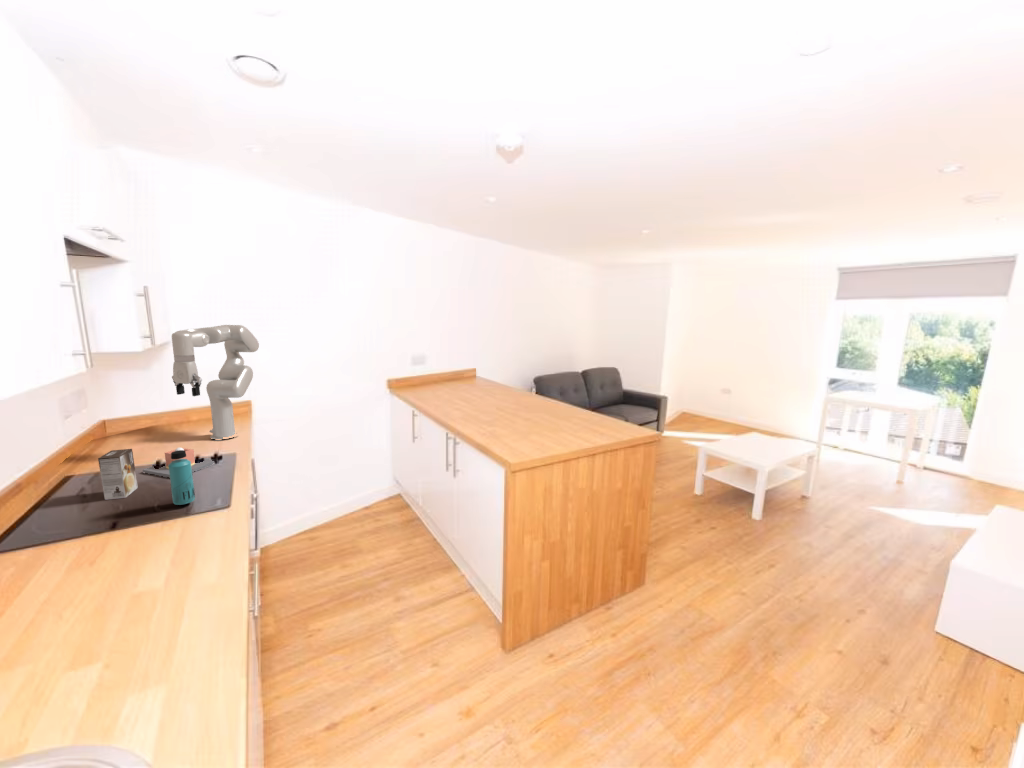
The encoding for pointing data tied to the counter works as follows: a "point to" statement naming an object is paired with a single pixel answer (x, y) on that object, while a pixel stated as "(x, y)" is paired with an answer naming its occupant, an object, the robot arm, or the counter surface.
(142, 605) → the counter surface
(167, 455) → the collar
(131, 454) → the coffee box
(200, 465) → the post board
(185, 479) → the beverage bottle
